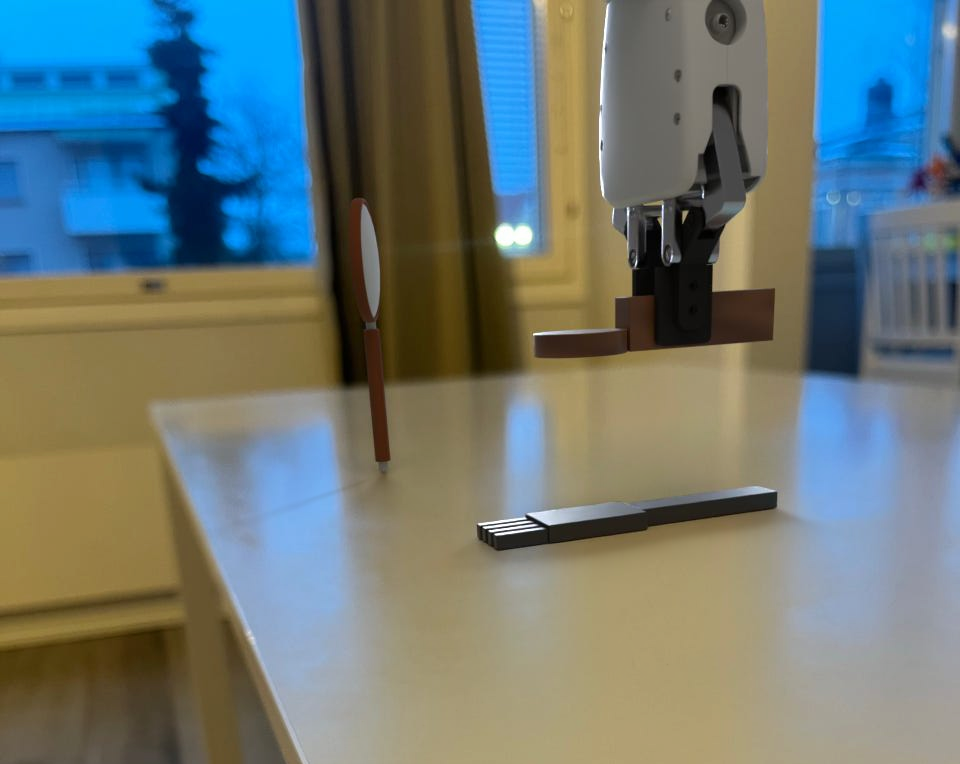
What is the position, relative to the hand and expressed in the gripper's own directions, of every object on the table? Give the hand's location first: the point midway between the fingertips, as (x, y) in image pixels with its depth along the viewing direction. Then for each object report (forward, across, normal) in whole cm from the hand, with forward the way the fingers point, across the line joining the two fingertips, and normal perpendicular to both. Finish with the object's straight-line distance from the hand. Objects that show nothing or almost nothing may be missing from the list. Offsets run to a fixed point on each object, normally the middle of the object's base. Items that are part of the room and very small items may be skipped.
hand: (670, 341), depth 55 cm
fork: (+10, 0, +2) cm, 10 cm away
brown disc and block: (0, 0, +1) cm, 1 cm away
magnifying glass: (+10, +26, +11) cm, 30 cm away
